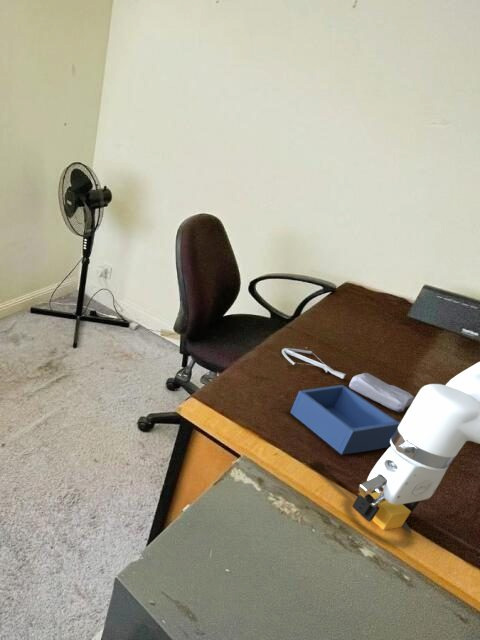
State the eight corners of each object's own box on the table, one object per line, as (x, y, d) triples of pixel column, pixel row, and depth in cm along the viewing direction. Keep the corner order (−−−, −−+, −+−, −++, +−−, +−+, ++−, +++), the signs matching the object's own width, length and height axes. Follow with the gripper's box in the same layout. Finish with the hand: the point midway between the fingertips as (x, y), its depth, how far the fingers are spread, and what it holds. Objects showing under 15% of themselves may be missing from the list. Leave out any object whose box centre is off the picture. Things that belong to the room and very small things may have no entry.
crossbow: (272, 358, 130) (274, 352, 130) (290, 347, 137) (292, 342, 136) (335, 385, 117) (337, 379, 117) (351, 372, 124) (353, 366, 123)
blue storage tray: (387, 447, 98) (401, 423, 95) (341, 455, 96) (353, 431, 93) (332, 406, 111) (342, 384, 108) (289, 413, 108) (299, 390, 105)
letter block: (401, 526, 80) (411, 511, 78) (382, 530, 79) (392, 515, 77) (376, 505, 84) (385, 490, 82) (358, 508, 83) (367, 493, 81)
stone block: (357, 383, 122) (344, 386, 117) (366, 369, 120) (353, 372, 115) (409, 410, 112) (398, 416, 107) (420, 396, 111) (409, 401, 106)
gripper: (407, 472, 69) (365, 536, 76) (485, 458, 72) (438, 521, 79) (361, 437, 76) (326, 499, 83) (433, 425, 79) (395, 486, 86)
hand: (381, 510), depth 81 cm, fingers open, 9 cm apart
